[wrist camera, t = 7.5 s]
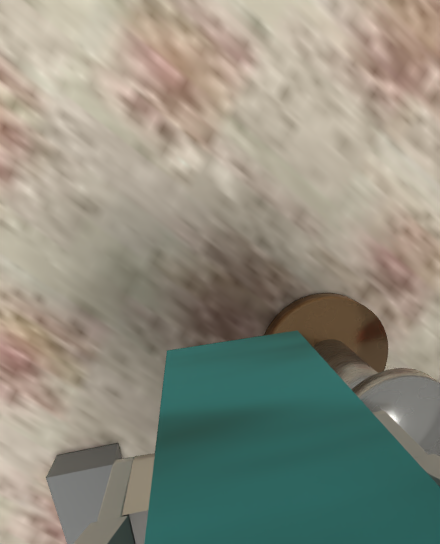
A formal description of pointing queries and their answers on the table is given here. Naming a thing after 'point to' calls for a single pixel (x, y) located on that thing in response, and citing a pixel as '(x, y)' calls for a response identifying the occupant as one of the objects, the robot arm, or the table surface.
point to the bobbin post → (366, 362)
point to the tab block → (278, 454)
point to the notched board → (80, 486)
